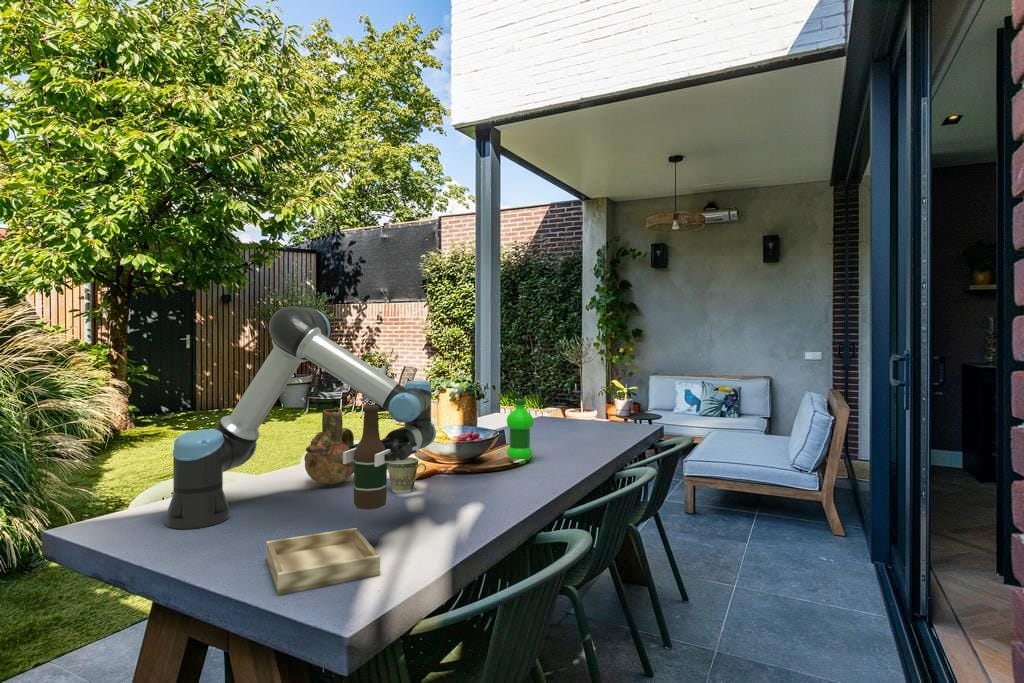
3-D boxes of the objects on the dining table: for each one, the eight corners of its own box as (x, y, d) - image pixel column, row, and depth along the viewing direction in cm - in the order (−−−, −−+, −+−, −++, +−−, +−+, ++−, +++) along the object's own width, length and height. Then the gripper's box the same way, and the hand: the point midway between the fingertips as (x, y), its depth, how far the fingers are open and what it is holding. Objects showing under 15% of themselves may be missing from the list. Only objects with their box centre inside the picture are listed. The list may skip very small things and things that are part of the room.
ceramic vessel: (284, 492, 181) (285, 413, 181) (325, 473, 206) (326, 404, 206) (335, 496, 178) (335, 416, 178) (370, 476, 203) (370, 405, 203)
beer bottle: (388, 500, 141) (390, 403, 141) (383, 510, 134) (384, 407, 133) (357, 500, 141) (358, 403, 141) (349, 510, 133) (351, 407, 133)
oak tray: (278, 595, 111) (278, 574, 111) (266, 559, 128) (266, 541, 128) (379, 575, 120) (380, 556, 120) (356, 544, 138) (356, 527, 138)
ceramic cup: (381, 493, 181) (381, 462, 181) (395, 485, 191) (395, 455, 191) (419, 497, 178) (419, 465, 178) (431, 488, 188) (431, 458, 188)
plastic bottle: (537, 463, 226) (538, 400, 226) (515, 466, 220) (515, 402, 220) (523, 458, 235) (524, 398, 234) (501, 461, 229) (502, 399, 229)
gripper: (438, 458, 152) (400, 479, 130) (368, 452, 157) (321, 472, 135) (438, 430, 152) (400, 446, 130) (369, 425, 157) (321, 440, 135)
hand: (360, 459), depth 132 cm, fingers closed on beer bottle, 7 cm apart
